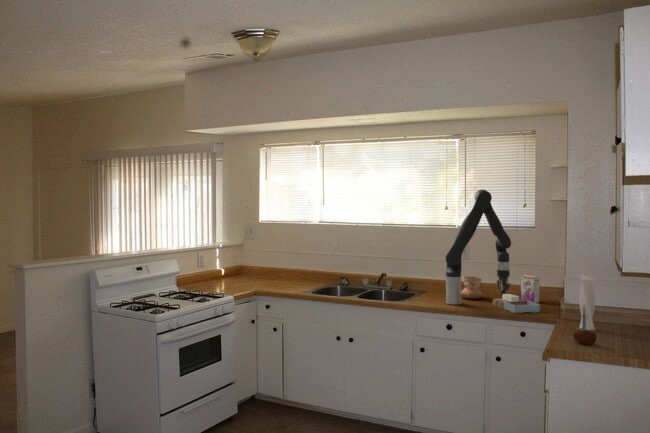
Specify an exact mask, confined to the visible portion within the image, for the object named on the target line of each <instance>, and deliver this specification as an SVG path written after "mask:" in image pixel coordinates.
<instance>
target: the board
mask: <svg viewBox="0 0 650 433" xmlns="http://www.w3.org/2000/svg"><path fill="white" fill-rule="evenodd" d="M504 302H507V303H510V304H513V305H527V301H525V300H522V299H521V298H519V302H510V301H507V300H504V299H502V297H501V298H499V297H498V298H492V306H494V307H496V306H497V308H500V309H502V308H503V309H502V310H505V309H504Z"/></svg>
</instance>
